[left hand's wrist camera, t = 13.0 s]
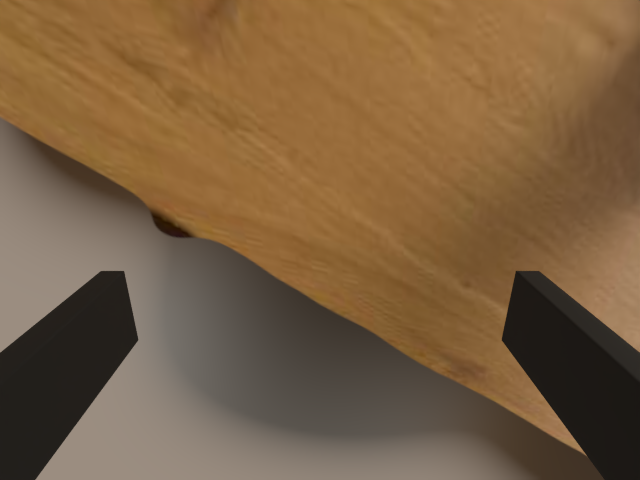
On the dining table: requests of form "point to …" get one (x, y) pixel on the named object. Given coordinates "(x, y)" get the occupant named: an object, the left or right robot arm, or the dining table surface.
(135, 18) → the dining table surface
